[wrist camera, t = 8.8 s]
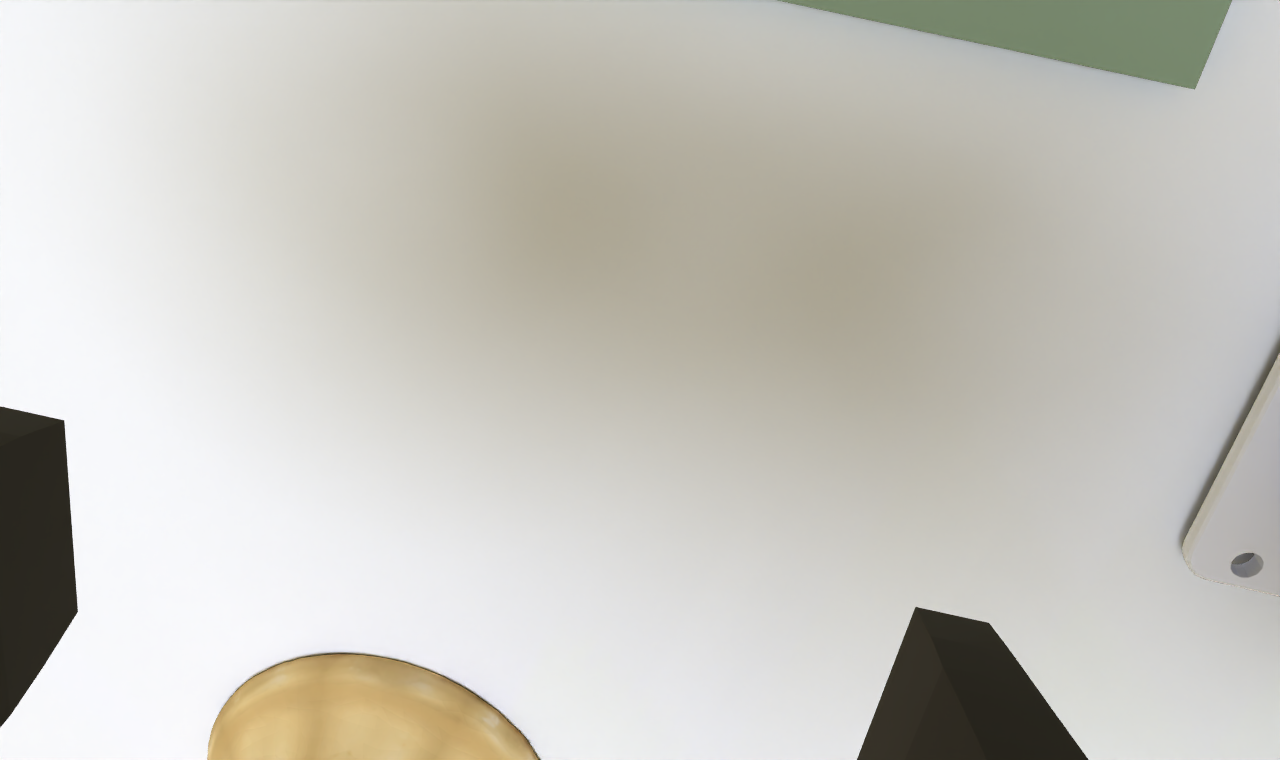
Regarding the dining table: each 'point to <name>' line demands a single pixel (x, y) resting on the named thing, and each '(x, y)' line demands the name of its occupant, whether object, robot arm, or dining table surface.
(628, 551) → the dining table surface
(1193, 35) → the pitch mat
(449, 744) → the hand bell
